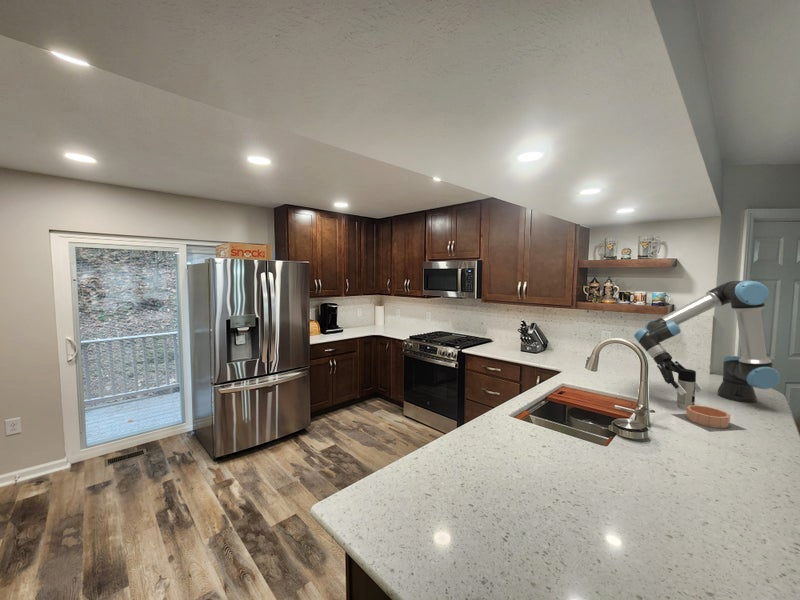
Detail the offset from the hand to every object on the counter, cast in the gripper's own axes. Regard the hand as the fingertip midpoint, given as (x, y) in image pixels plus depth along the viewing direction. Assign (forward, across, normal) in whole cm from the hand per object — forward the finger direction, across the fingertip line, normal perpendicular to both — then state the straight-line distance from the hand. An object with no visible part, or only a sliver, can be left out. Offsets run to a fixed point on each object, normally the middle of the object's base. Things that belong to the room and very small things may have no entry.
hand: (692, 392), depth 162 cm
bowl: (+14, +9, +1) cm, 16 cm away
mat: (+14, +9, +1) cm, 17 cm away
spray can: (+5, 0, -9) cm, 10 cm away
